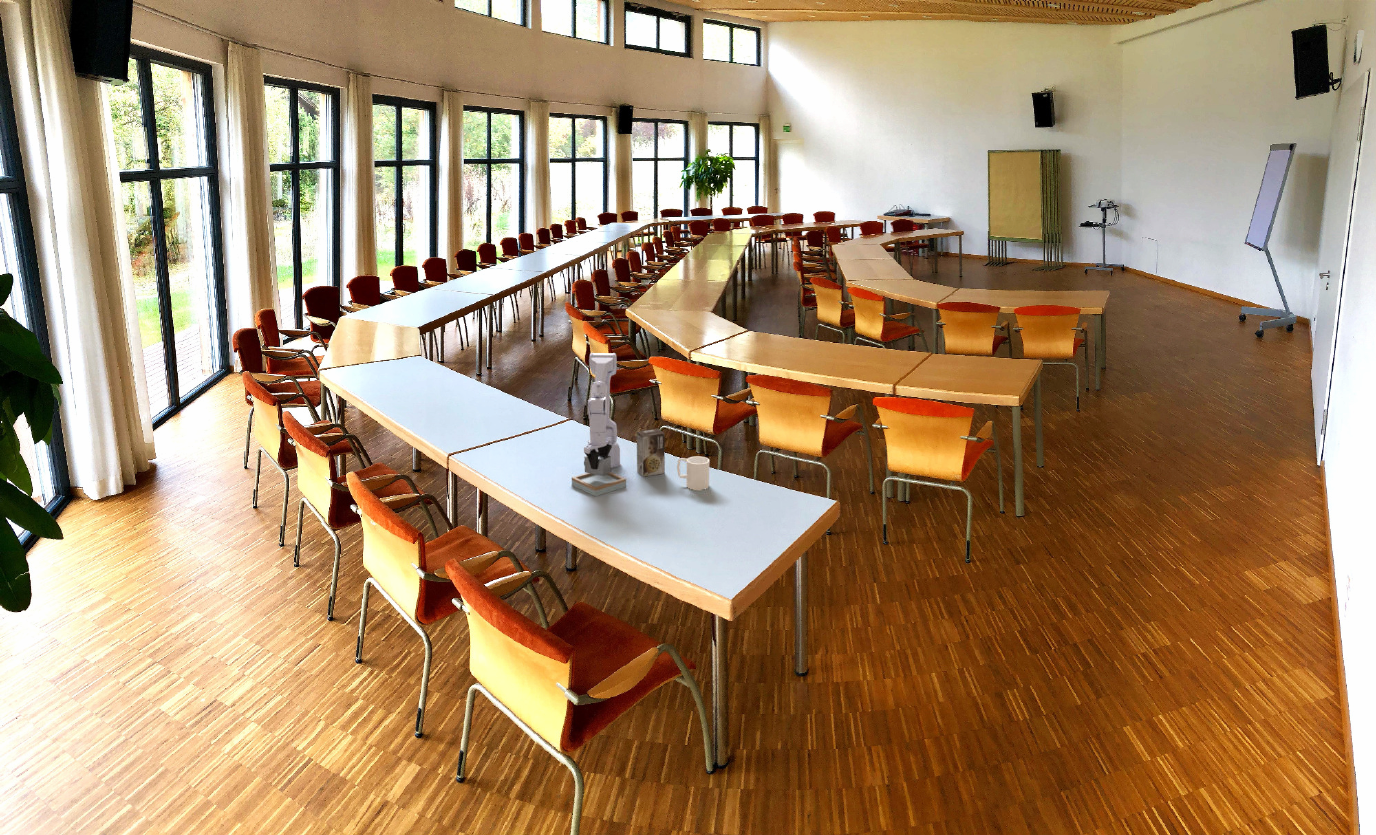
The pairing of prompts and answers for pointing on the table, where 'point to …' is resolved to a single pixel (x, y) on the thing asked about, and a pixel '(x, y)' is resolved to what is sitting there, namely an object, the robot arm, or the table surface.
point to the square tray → (598, 483)
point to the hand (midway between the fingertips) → (598, 466)
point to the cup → (696, 472)
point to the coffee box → (650, 452)
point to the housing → (599, 465)
